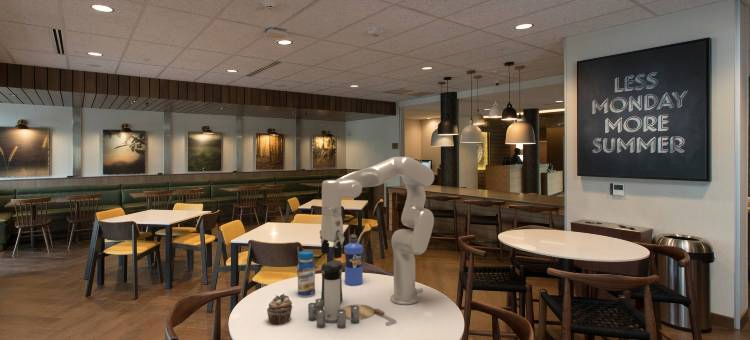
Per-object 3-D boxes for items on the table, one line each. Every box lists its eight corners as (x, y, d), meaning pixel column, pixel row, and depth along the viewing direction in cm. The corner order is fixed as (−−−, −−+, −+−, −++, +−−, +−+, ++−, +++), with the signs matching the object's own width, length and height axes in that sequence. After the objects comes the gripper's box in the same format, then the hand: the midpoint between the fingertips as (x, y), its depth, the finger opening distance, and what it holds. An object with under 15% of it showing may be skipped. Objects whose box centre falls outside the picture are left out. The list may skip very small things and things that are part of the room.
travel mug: (329, 324, 152) (329, 273, 152) (321, 319, 158) (321, 269, 157) (343, 320, 156) (343, 270, 155) (335, 315, 161) (334, 266, 161)
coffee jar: (333, 308, 169) (333, 265, 168) (318, 305, 173) (317, 262, 172) (345, 301, 177) (345, 259, 177) (330, 298, 181) (330, 257, 181)
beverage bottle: (317, 291, 190) (317, 250, 190) (313, 297, 182) (312, 254, 181) (300, 291, 191) (299, 249, 190) (295, 297, 183) (294, 254, 182)
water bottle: (342, 281, 205) (341, 233, 205) (358, 279, 209) (358, 232, 208) (348, 287, 197) (348, 236, 196) (365, 284, 201) (365, 235, 200)
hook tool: (367, 314, 162) (367, 311, 162) (377, 312, 165) (377, 308, 165) (387, 325, 151) (387, 321, 151) (397, 322, 154) (397, 318, 154)
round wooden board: (361, 302, 175) (361, 302, 175) (382, 313, 163) (382, 312, 163) (331, 310, 166) (331, 309, 166) (351, 322, 154) (351, 321, 154)
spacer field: (336, 308, 169) (336, 294, 169) (361, 322, 154) (361, 307, 154) (303, 317, 160) (302, 302, 160) (325, 333, 145) (325, 317, 144)
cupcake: (281, 314, 163) (281, 289, 163) (297, 320, 157) (296, 294, 157) (261, 321, 156) (261, 296, 156) (277, 328, 150) (276, 301, 149)
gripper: (351, 213, 151) (351, 258, 151) (329, 208, 165) (328, 250, 165) (334, 214, 146) (334, 261, 147) (312, 210, 160) (312, 252, 161)
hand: (331, 255), depth 156 cm, fingers open, 9 cm apart
